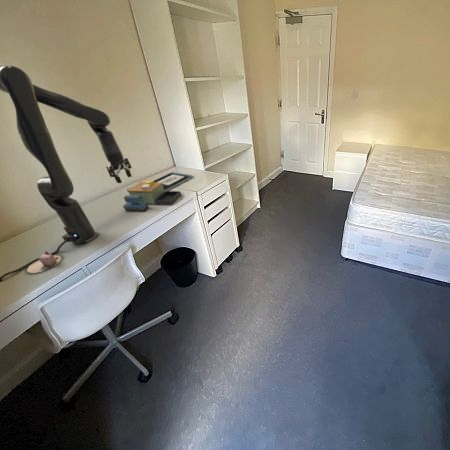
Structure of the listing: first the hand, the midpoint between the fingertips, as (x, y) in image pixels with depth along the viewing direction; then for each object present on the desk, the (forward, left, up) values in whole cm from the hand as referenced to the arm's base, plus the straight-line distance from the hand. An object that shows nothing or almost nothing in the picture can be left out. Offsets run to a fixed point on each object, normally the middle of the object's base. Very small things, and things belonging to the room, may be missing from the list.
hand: (124, 179), depth 146 cm
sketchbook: (+38, +2, -19) cm, 43 cm away
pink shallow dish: (-51, +10, -19) cm, 55 cm away
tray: (+12, -14, -19) cm, 26 cm away
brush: (-1, -1, -19) cm, 19 cm away
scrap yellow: (+15, -2, -10) cm, 18 cm away
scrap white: (+9, -4, -10) cm, 14 cm away
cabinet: (+12, -1, -19) cm, 22 cm away
